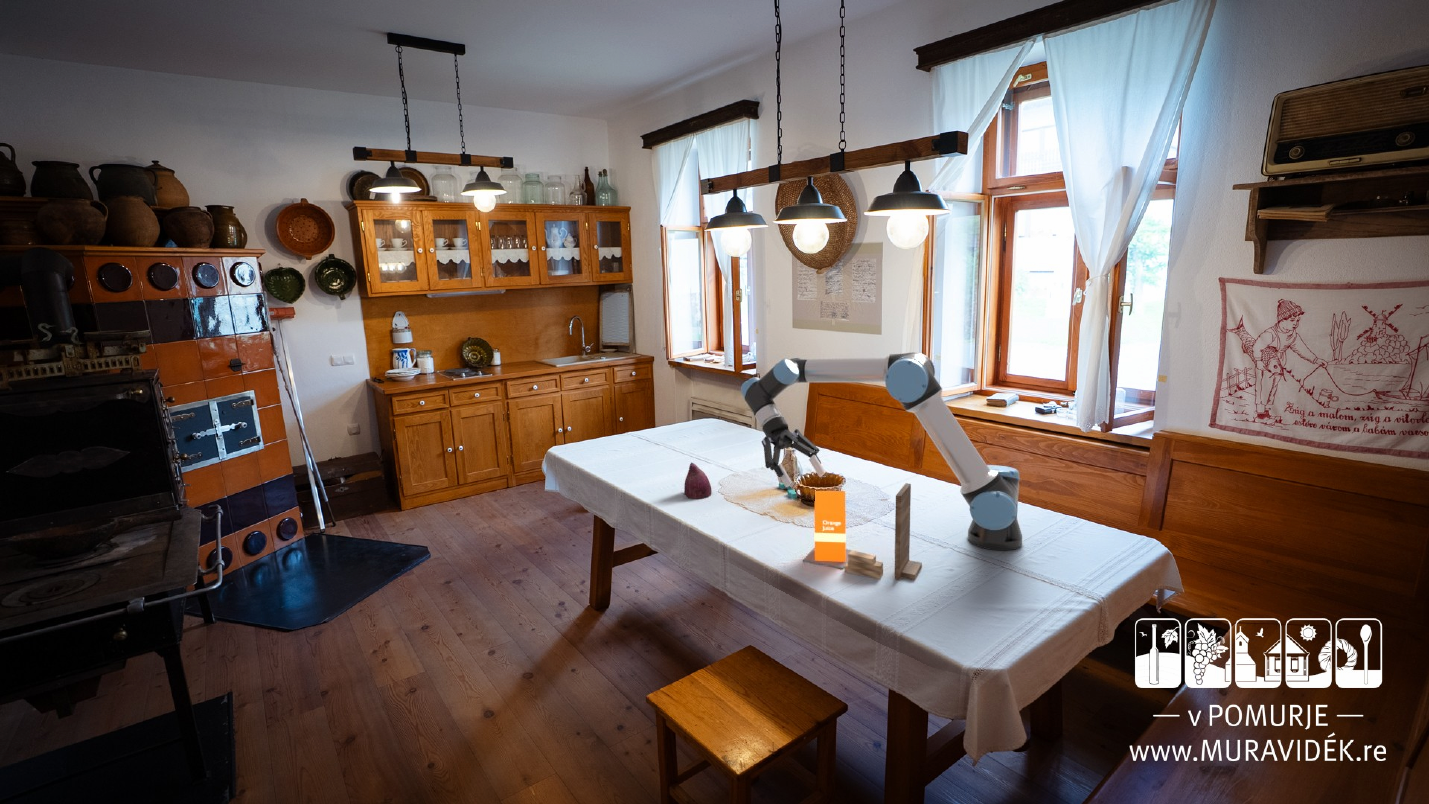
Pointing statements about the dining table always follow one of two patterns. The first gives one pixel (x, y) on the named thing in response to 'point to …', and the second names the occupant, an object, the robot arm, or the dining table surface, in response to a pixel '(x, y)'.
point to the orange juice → (830, 526)
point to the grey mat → (835, 564)
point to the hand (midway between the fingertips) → (806, 479)
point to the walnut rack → (903, 566)
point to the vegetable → (696, 483)
